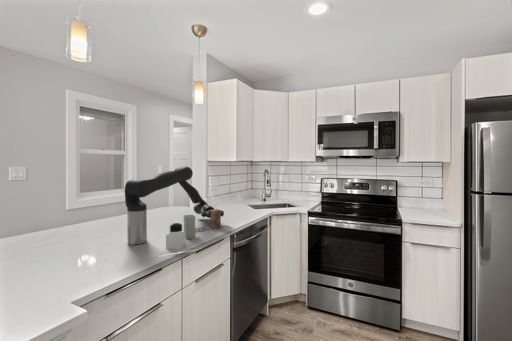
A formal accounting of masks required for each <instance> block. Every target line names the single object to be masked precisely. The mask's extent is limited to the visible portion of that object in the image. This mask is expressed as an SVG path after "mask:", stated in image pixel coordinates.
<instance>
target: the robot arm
mask: <svg viewBox="0 0 512 341" xmlns="http://www.w3.org/2000/svg"><path fill="white" fill-rule="evenodd" d="M193 175H194V173H193V170H192V168H191V167H190V166H180V167H176V168H175V169H174V170H170V171H163V172H160V173H157V174H156V175H154V177H153V178H151V179H129V180H127V181H126V183H125V185H124V186H125V187H124V198H125V201H124V203H125V207H126V208H127V209H126V210H127V214H126V215H127V226H126V228H127V229H126V230H127V232H126V234H127V245H128V246H135V244H138V245H141V244H142V243H143V244H145V243H147V242H148V231H147V230H148V225H147V224H148V222H147V219H148V218H147V215H148V214H147V213H148V212H147V211H148V210H147V204H146V203H145V202H143V201H142V200H141V198H144V197H145V198H146V197H148V196H150V195H151V194H153V193H154V192H157V191H161V190H163V189H166V188H169V187H171V186H174V185H176V184H179V185H180V186H181V188H182V189H183V190H184V191H185V193H186V194H187V195H188V197H189V198H190V201H191V202H192V204H194V206H193V211H194V212H195V214H197V215H200V216H201V217H202V218H208V219H211V210H214V209H215V207H213V206H211V205H209V204H208V203H207V202H206V201H205V200H204V199H203V198H202V196H201V195H200V193H199V191H198V189H197V188H196V187H194V186H193V185H191V184H190V183H189V182H188V181H189V180H191V178H192V177H193ZM220 210H221V217H224V216H225V215H224V214H225V211H224V210H222V209H220ZM146 241H147V242H146Z"/></svg>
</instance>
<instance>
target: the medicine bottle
mask: <svg viewBox="0 0 512 341" xmlns="http://www.w3.org/2000/svg"><path fill="white" fill-rule="evenodd" d="M168 227H169V228H168V229H169V230H168V231H169V233H168V234H166V235H165V249H166V250H167V249H168V250H181V249H182V248H183V247H185V245H186V241H185V232H184V231H183V224H182V223H180V222H174V223H173V222H172V223H171V224H169V226H168Z"/></svg>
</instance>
